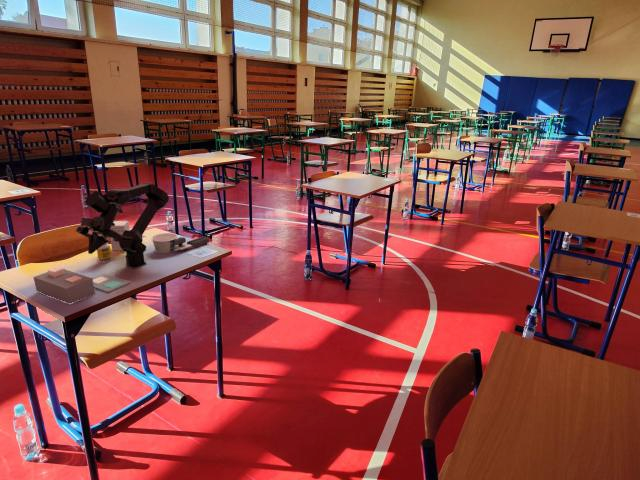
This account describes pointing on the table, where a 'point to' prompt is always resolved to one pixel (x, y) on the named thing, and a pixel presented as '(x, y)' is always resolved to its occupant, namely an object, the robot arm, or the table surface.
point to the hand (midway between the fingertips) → (89, 253)
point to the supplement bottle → (104, 253)
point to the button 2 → (73, 279)
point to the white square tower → (119, 228)
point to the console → (64, 286)
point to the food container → (164, 242)
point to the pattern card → (108, 283)
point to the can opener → (190, 242)
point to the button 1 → (56, 271)
